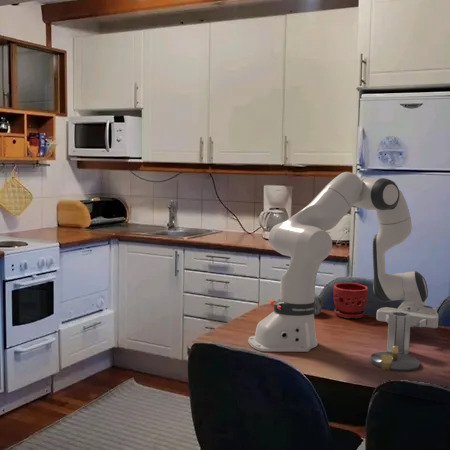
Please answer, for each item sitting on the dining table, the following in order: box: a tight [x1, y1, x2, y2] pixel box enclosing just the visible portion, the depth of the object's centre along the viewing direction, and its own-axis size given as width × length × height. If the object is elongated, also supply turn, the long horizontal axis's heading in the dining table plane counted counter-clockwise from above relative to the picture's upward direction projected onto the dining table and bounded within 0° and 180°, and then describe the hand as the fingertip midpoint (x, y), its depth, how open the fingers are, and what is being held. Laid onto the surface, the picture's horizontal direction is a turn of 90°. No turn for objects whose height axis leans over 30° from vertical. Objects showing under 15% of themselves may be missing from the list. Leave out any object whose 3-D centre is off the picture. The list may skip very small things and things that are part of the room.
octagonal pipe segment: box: [386, 312, 411, 355], centre depth 187 cm, size 6×6×12 cm
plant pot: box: [332, 282, 369, 319], centre depth 231 cm, size 13×13×12 cm
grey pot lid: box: [369, 345, 420, 372], centre depth 176 cm, size 14×14×5 cm
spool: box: [314, 293, 323, 316], centre depth 235 cm, size 14×10×10 cm
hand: (403, 322), depth 196 cm, fingers open, 8 cm apart
